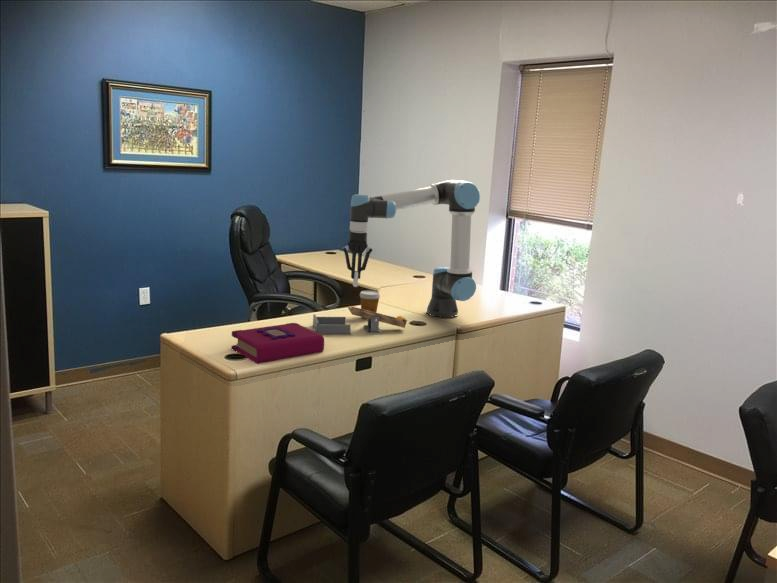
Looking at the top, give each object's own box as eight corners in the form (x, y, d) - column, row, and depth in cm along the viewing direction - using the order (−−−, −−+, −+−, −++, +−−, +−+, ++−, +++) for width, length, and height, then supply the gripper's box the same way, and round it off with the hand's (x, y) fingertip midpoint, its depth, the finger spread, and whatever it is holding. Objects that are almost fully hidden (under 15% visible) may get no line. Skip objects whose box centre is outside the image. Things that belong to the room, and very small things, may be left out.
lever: (398, 321, 289) (401, 314, 289) (404, 327, 279) (407, 320, 278) (347, 308, 283) (350, 300, 282) (352, 314, 272) (354, 306, 272)
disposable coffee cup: (379, 316, 302) (381, 291, 300) (377, 321, 293) (379, 295, 290) (359, 314, 303) (361, 289, 300) (356, 319, 294) (358, 293, 291)
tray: (345, 325, 282) (345, 314, 281) (350, 334, 270) (350, 322, 268) (312, 325, 279) (313, 314, 278) (316, 334, 266) (316, 322, 265)
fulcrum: (376, 326, 284) (377, 311, 283) (382, 333, 274) (383, 318, 273) (363, 326, 283) (364, 311, 282) (368, 333, 273) (369, 318, 271)
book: (324, 353, 244) (324, 334, 242) (257, 365, 226) (258, 344, 224) (294, 339, 259) (294, 320, 258) (229, 349, 241) (230, 329, 240)
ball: (401, 322, 282) (403, 315, 282) (403, 324, 279) (405, 317, 279) (394, 321, 282) (396, 314, 281) (396, 323, 278) (398, 316, 278)
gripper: (371, 231, 278) (368, 284, 283) (341, 229, 275) (338, 284, 280) (375, 233, 271) (371, 288, 276) (344, 232, 268) (341, 287, 273)
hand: (355, 286), depth 278 cm, fingers closed
